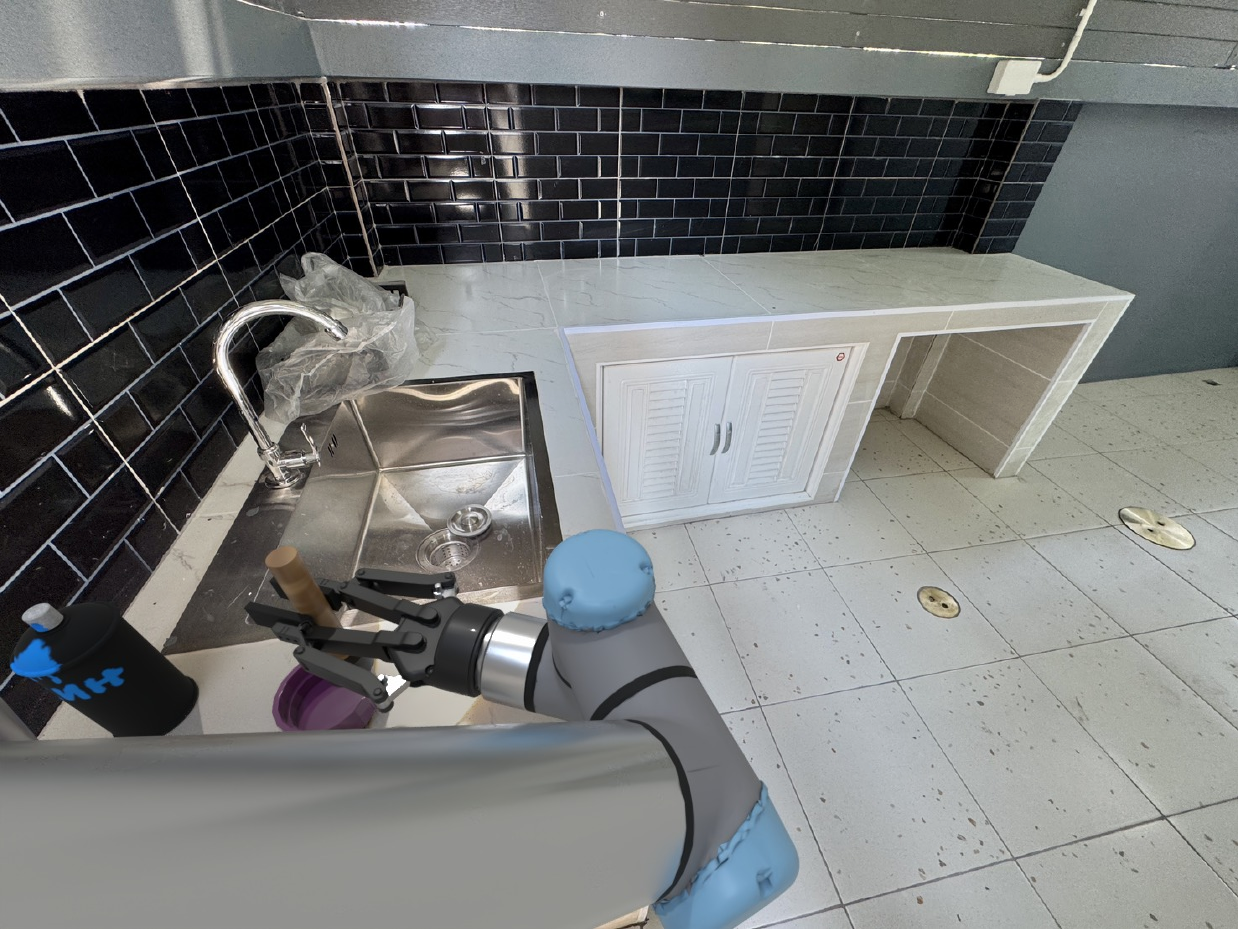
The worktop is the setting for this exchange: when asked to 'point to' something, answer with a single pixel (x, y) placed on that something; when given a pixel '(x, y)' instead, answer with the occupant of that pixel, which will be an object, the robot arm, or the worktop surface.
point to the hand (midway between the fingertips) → (266, 599)
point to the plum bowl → (318, 704)
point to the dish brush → (307, 595)
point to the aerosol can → (103, 669)
